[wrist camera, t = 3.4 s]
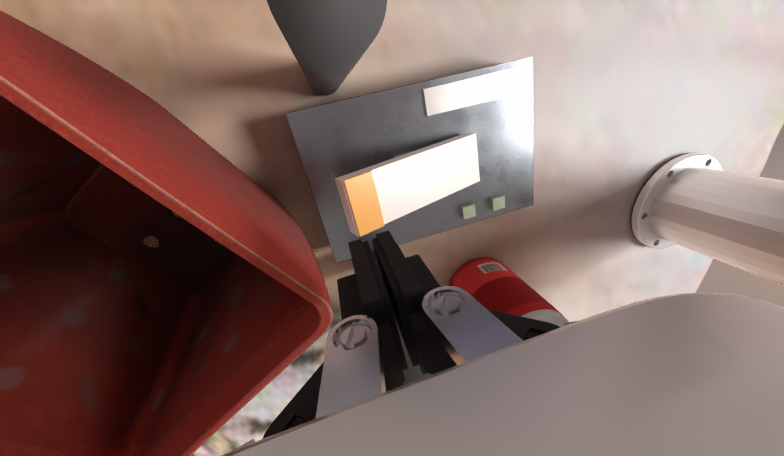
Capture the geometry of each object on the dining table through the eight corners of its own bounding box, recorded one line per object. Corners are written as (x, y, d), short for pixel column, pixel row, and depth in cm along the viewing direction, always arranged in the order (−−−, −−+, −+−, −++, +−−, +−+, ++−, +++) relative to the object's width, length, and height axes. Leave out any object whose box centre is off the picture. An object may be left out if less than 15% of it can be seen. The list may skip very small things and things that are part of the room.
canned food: (434, 286, 35) (478, 356, 25) (486, 242, 34) (552, 297, 24) (467, 319, 38) (518, 393, 28) (515, 280, 37) (585, 342, 28)
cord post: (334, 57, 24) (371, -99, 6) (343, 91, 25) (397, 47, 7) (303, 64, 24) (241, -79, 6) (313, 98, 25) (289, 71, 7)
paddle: (464, 133, 24) (478, 133, 23) (469, 179, 26) (481, 181, 25) (334, 178, 19) (342, 181, 18) (350, 231, 21) (359, 237, 20)
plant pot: (-17, 213, 23) (-696, 423, 8) (134, 28, 21) (-389, -191, 5) (207, 330, 31) (94, 547, 16) (333, 205, 29) (345, 315, 13)
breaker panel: (504, 63, 27) (548, 52, 22) (509, 194, 32) (545, 210, 27) (291, 112, 25) (282, 114, 20) (334, 244, 30) (337, 273, 25)
